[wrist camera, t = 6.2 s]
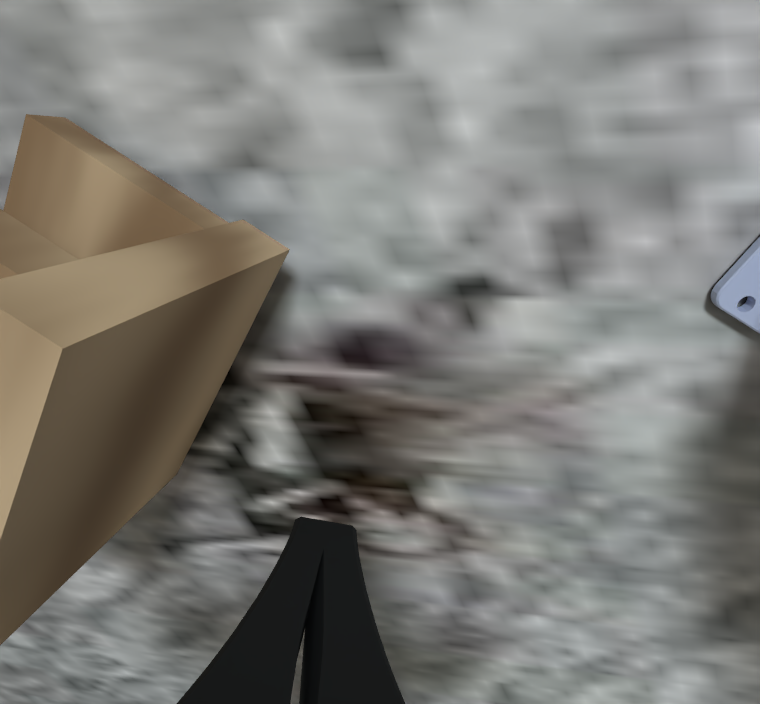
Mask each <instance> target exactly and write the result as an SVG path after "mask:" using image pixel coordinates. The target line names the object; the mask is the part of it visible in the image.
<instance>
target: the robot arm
mask: <svg viewBox="0 0 760 704" xmlns="http://www.w3.org/2000/svg"><path fill="white" fill-rule="evenodd" d="M746 296H748V298H747V301H746V302H745V304H743V305H742V306H740V307H737V304H738V302H739V301H740V300H741V299H742V298H743V297H746ZM711 300H712V302H713V303H714V304H715V305H716V306H717V307H719V308H720V309H721V310H723V311H725V312H726V313H728V314H729V315H731V316H732V317H734V318H736V319H737V320H739V321H740V322H742V323H743V324H745V325H747V326H748V327H750V328H751V329H753V330H755V331H756V332H758V333H759V334H760V237H759V238H758V239H757V240H756V241H755V242H754V243H753V244H752V246H751V247H750V248H749V249H748V250H747V251H746V252H745V253H744V254H743V255H742V256H741V258H740V259H739V260H738V261H737V262H736V263H735V264H734V265H733V266H732V267H731V268H730V270H729V271H728V272H727V273H726V274H725V275H724V276H723V277H722V278H721V279H720V280H719V282H718V283H717V284H716V285H715V286H714V288H713V289H712V292H711ZM304 629H305V636H304V649H303V662H302V675H301V688H300V702H299V704H405V702H404V700H403V697H402V695H401V692H400V690H399V688H398V685H397V683H396V680H395V678H394V675H393V673H392V670H391V667H390V665H389V662H388V659H387V656H386V653H385V651H384V648H383V645H382V642H381V639H380V636H379V633H378V629H377V626H376V623H375V620H374V616H373V613H372V609H371V605H370V602H369V598H368V594H367V591H366V586H365V582H364V578H363V573H362V568H361V563H360V558H359V552H358V544H357V535H356V529H355V528H354V527H353V526H351V525H345V524H339V523H334V522H328V521H322V520H316V519H310V518H305V517H300V518H298V519H296V520H295V522H294V526H293V529H292V532H291V534H290V537H289V539H288V542H287V544H286V546H285V548H284V550H283V552H282V554H281V556H280V558H279V560H278V562H277V564H276V566H275V567H274V569H273V571H272V573H271V574H270V576H269V578H268V580H267V581H266V583H265V585H264V586H263V588H262V590H261V592H260V593H259V595H258V596H257V598H256V599H255V601H254V602H253V604H252V605H251V607H250V608H249V610H248V611H247V613H246V614H245V616H244V617H243V619H242V620H241V622H240V623H239V625H238V626H237V628H236V629H235V631H234V632H233V633H232V635H231V636H230V638H229V639H228V640H227V642H226V643H225V644H224V646H223V647H222V648H221V650H220V651H219V652H218V654H217V655H216V656H215V658H214V659H213V660H212V662H211V663H210V664H209V665H208V667H207V668H206V669H205V670H204V672H203V673H202V674H201V675H200V676H199V678H198V679H197V680H196V681H195V683H194V684H193V685H192V686H191V687H190V689H189V690H188V691H187V692H186V693H185V695H184V696H183V697H182V698H181V699H180V700H179V702H178V703H177V704H290V700H291V693H292V687H293V680H294V673H295V667H296V661H297V657H298V653H299V649H300V645H301V641H302V637H303V633H304Z"/></svg>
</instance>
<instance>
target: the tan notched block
mask: <svg viewBox="0 0 760 704" xmlns="http://www.w3.org/2000/svg"><path fill="white" fill-rule="evenodd" d="M289 250H290V249H288V248H286V247H285V246H283V245H282V244H280V243H279V242H277V241H276V240H274V239H272V238H271V237H269V236H268V235H266V234H265V233H263V232H262V231H260V230H258V229H257V228H255V227H254V226H252V225H251V224H249V223H248V222H246V221H244V220H239V221H235V222H231V223H228V222H226V221H225V220H223V219H222V218H220V217H219V216H217V215H216V214H214V213H212V212H211V211H209V210H208V209H206V208H205V207H203V206H202V205H200V204H198V203H197V202H195V201H194V200H192V199H191V198H189V197H188V196H186V195H184V194H183V193H181V192H180V191H178V190H177V189H175V188H174V187H172V186H171V185H169V184H167V183H166V182H164V181H163V180H161V179H160V178H158V177H157V176H155V175H153V174H152V173H150V172H149V171H147V170H146V169H144V168H143V167H141V166H139V165H138V164H136V163H135V162H133V161H132V160H130V159H129V158H127V157H125V156H124V155H122V154H121V153H119V152H118V151H116V150H115V149H113V148H111V147H110V146H108V145H107V144H105V143H104V142H102V141H101V140H99V139H97V138H96V137H94V136H93V135H91V134H90V133H88V132H87V131H85V130H83V129H82V128H80V127H79V126H77V125H76V124H74V123H73V122H71V121H69V120H68V119H66V118H63V117H52V116H40V115H28V114H26V117H25V121H24V125H23V130H22V134H21V138H20V142H19V147H18V151H17V155H16V160H15V164H14V168H13V172H12V177H11V181H10V185H9V189H8V194H7V198H6V202H5V206H4V211H3V210H1V209H0V645H1V644H2V643H3V642H4V641H5V640H6V639H7V638H8V637H9V636H10V635H11V634H12V633H13V632H14V631H16V630H17V629H18V628H19V627H20V626H21V625H22V624H23V623H24V622H25V621H26V620H27V619H28V618H29V617H30V616H31V615H32V614H33V613H34V612H35V611H36V610H37V609H38V608H39V607H40V606H41V605H42V604H43V603H44V602H45V601H46V600H48V599H49V598H50V597H51V596H52V595H53V594H54V593H55V592H56V591H57V590H58V589H59V588H60V587H61V586H62V585H63V584H64V583H65V582H66V581H67V580H68V579H69V578H70V577H71V576H72V575H73V574H74V573H75V572H76V571H77V570H78V569H79V568H81V567H82V566H83V565H84V564H85V563H86V562H87V561H88V560H89V559H90V558H91V557H92V556H93V555H94V554H95V553H96V552H97V551H98V550H99V549H100V548H101V547H102V546H103V545H104V544H105V543H106V542H107V541H108V540H109V539H110V538H111V537H113V536H114V535H115V534H116V533H117V532H118V531H119V530H120V529H121V528H122V527H123V526H124V525H125V524H126V523H127V522H128V521H129V520H130V519H131V518H132V517H133V516H134V515H135V514H136V513H137V512H138V511H139V510H140V509H141V508H142V507H143V506H144V505H146V504H147V503H148V502H149V501H150V500H151V499H152V498H153V497H154V496H155V495H156V494H157V493H158V492H159V491H160V490H161V489H162V488H163V487H164V486H165V485H166V484H167V483H168V482H169V481H170V480H171V479H172V478H173V477H174V476H175V475H176V474H177V473H178V471H179V469H180V467H181V465H182V463H183V461H184V459H185V457H186V455H187V453H188V451H189V449H190V447H191V445H192V443H193V441H194V439H195V437H196V435H197V433H198V431H199V429H200V427H201V425H202V423H203V421H204V419H205V417H206V415H207V413H208V411H209V409H210V407H211V405H212V403H213V401H214V399H215V397H216V395H217V393H218V391H219V389H220V387H221V385H222V383H223V381H224V379H225V377H226V375H227V373H228V371H229V369H230V367H231V365H232V363H233V361H234V359H235V357H236V355H237V353H238V352H239V350H240V348H241V346H242V344H243V342H244V340H245V338H246V336H247V334H248V332H249V330H250V328H251V326H252V324H253V322H254V320H255V318H256V316H257V314H258V312H259V310H260V308H261V306H262V304H263V302H264V300H265V298H266V296H267V294H268V292H269V290H270V288H271V286H272V284H273V282H274V280H275V278H276V276H277V274H278V272H279V270H280V268H281V266H282V264H283V262H284V260H285V258H286V256H287V254H288V252H289Z"/></svg>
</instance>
